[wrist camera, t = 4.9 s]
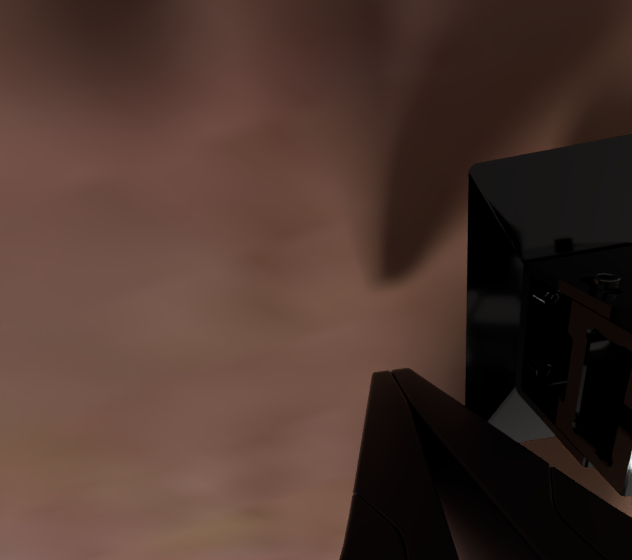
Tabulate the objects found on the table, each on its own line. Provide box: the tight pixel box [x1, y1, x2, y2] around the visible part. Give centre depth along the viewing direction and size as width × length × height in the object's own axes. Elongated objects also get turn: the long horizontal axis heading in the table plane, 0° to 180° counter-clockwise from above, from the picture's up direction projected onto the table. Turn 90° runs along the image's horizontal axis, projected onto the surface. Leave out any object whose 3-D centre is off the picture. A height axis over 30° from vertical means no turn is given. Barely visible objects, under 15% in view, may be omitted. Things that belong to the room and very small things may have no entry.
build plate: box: [465, 134, 632, 497], centre depth 9 cm, size 12×7×5 cm, turn 9°
